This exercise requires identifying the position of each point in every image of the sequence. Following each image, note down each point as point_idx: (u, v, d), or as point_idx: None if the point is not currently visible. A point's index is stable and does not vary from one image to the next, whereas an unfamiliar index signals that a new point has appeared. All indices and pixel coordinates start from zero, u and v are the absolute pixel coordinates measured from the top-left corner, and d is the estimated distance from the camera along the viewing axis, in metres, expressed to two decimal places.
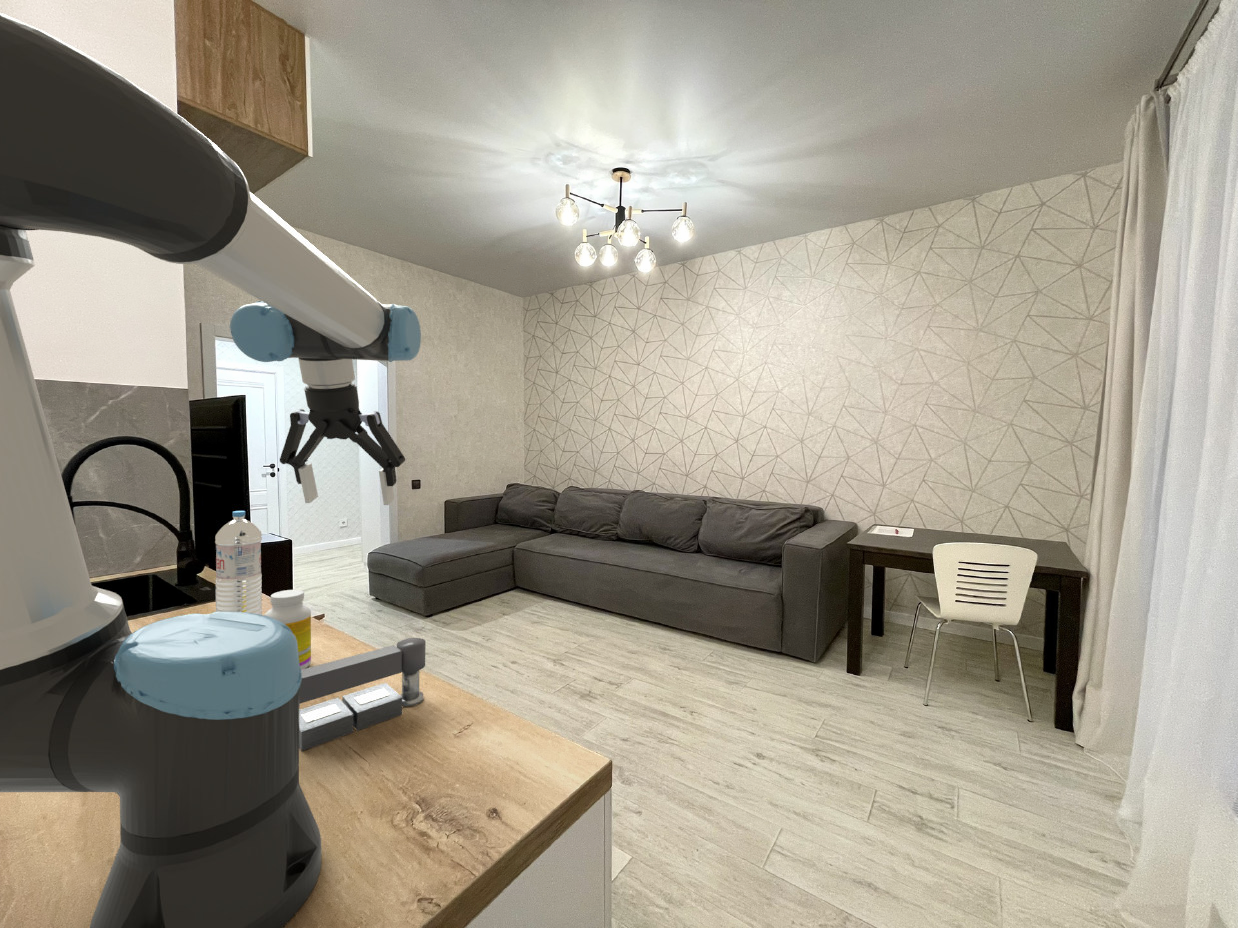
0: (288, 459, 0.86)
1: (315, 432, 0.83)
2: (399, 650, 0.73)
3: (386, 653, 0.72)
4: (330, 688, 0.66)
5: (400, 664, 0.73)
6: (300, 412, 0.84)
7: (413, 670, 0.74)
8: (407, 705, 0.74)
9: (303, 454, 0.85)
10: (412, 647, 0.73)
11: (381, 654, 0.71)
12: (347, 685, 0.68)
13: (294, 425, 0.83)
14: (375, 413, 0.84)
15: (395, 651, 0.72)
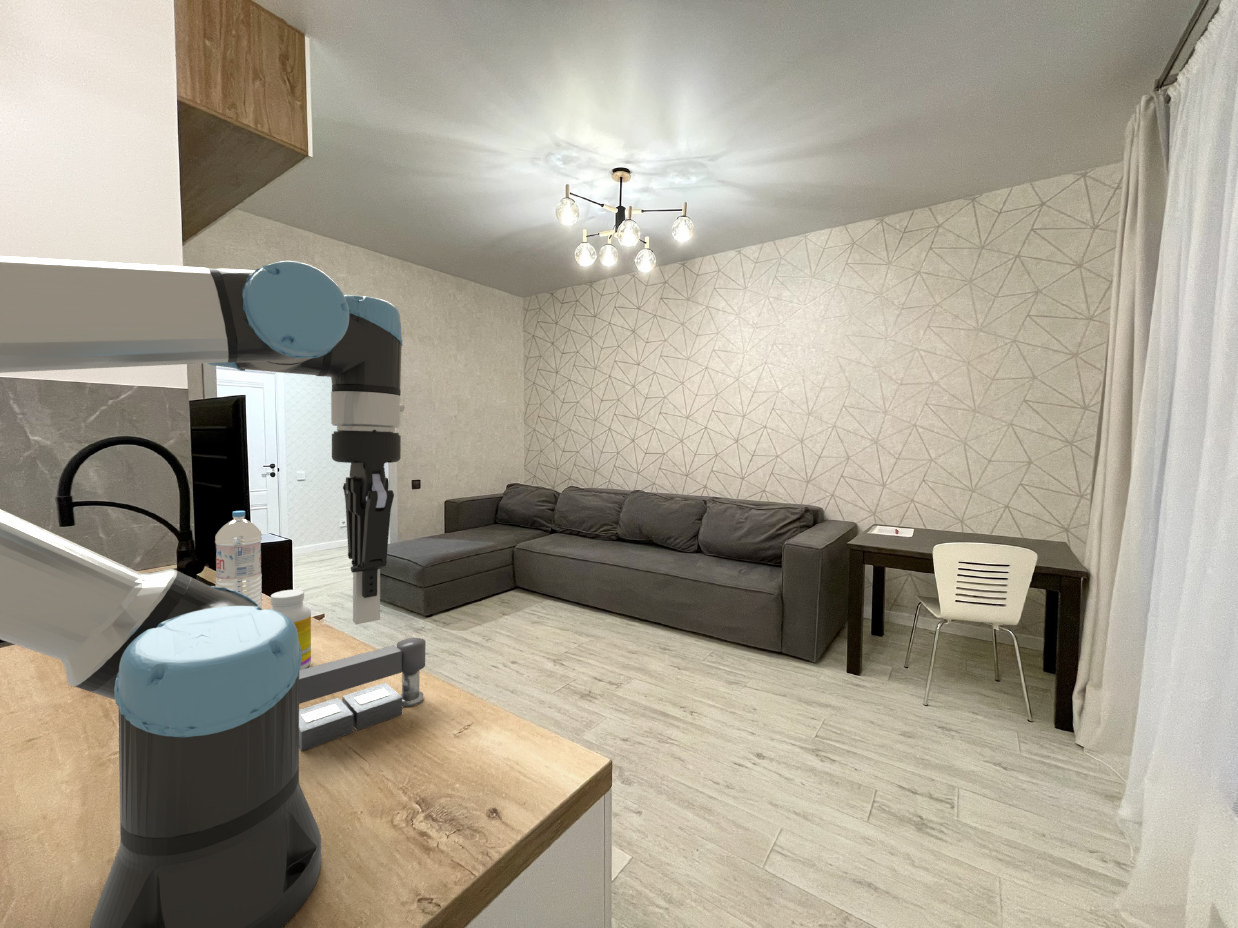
0: None
1: (348, 499, 0.62)
2: (399, 650, 0.73)
3: (386, 653, 0.72)
4: (330, 688, 0.66)
5: (400, 664, 0.73)
6: None
7: (413, 670, 0.74)
8: (407, 705, 0.74)
9: (353, 541, 0.62)
10: (412, 647, 0.73)
11: (381, 654, 0.71)
12: (347, 685, 0.68)
13: (346, 498, 0.64)
14: (384, 494, 0.57)
15: (395, 651, 0.72)
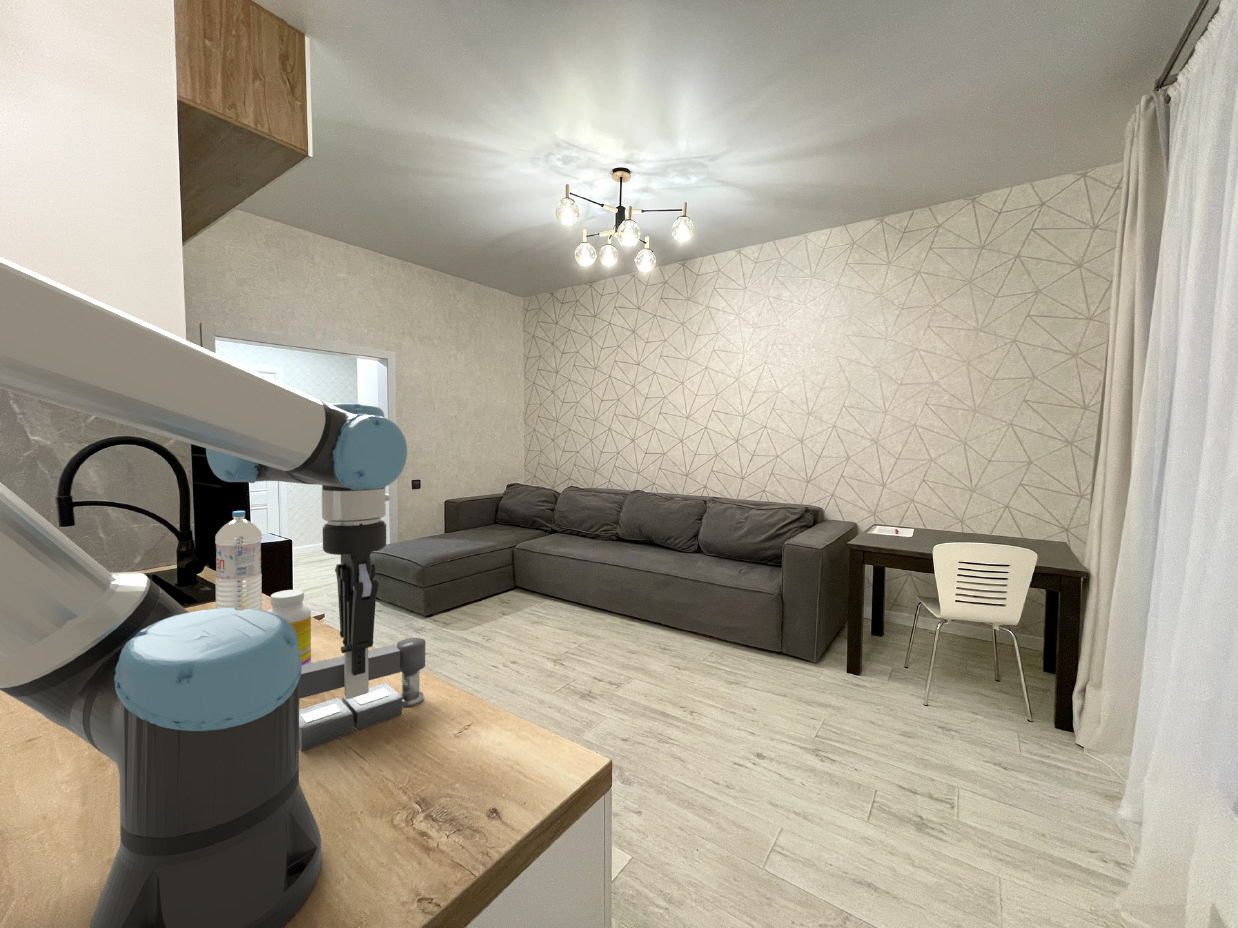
0: None
1: (339, 584, 0.67)
2: (398, 650, 0.73)
3: (385, 652, 0.72)
4: (327, 685, 0.67)
5: (399, 664, 0.73)
6: None
7: (412, 670, 0.74)
8: (407, 705, 0.74)
9: (344, 622, 0.67)
10: (411, 648, 0.73)
11: (379, 653, 0.72)
12: None
13: (338, 580, 0.70)
14: (369, 585, 0.62)
15: (393, 651, 0.73)
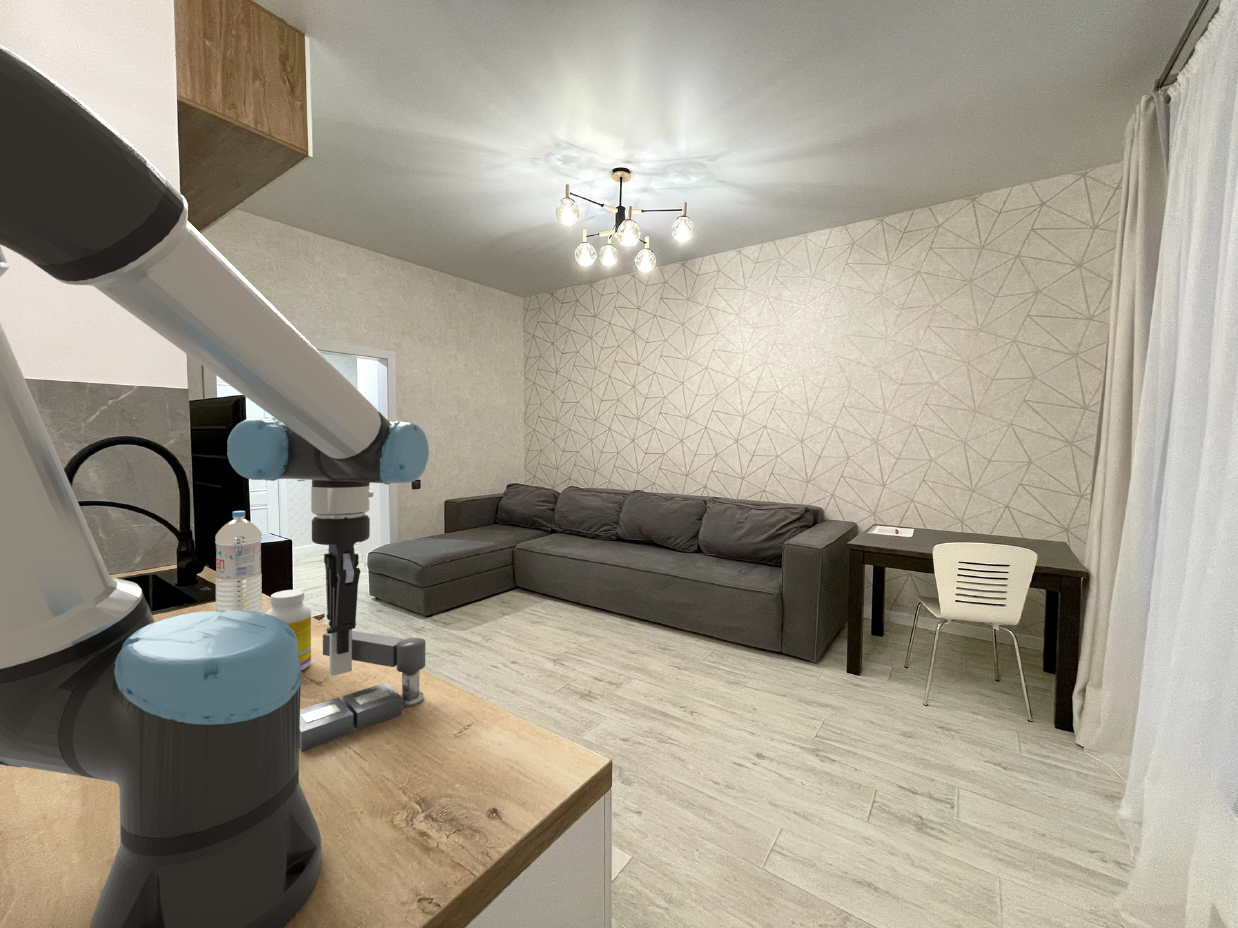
0: (330, 612, 0.76)
1: (326, 572, 0.75)
2: (394, 645, 0.75)
3: (385, 642, 0.75)
4: None
5: (392, 658, 0.74)
6: None
7: (399, 670, 0.74)
8: (407, 705, 0.74)
9: (330, 606, 0.75)
10: (399, 647, 0.73)
11: (382, 642, 0.76)
12: (353, 657, 0.76)
13: (326, 568, 0.78)
14: (351, 572, 0.70)
15: (390, 644, 0.75)
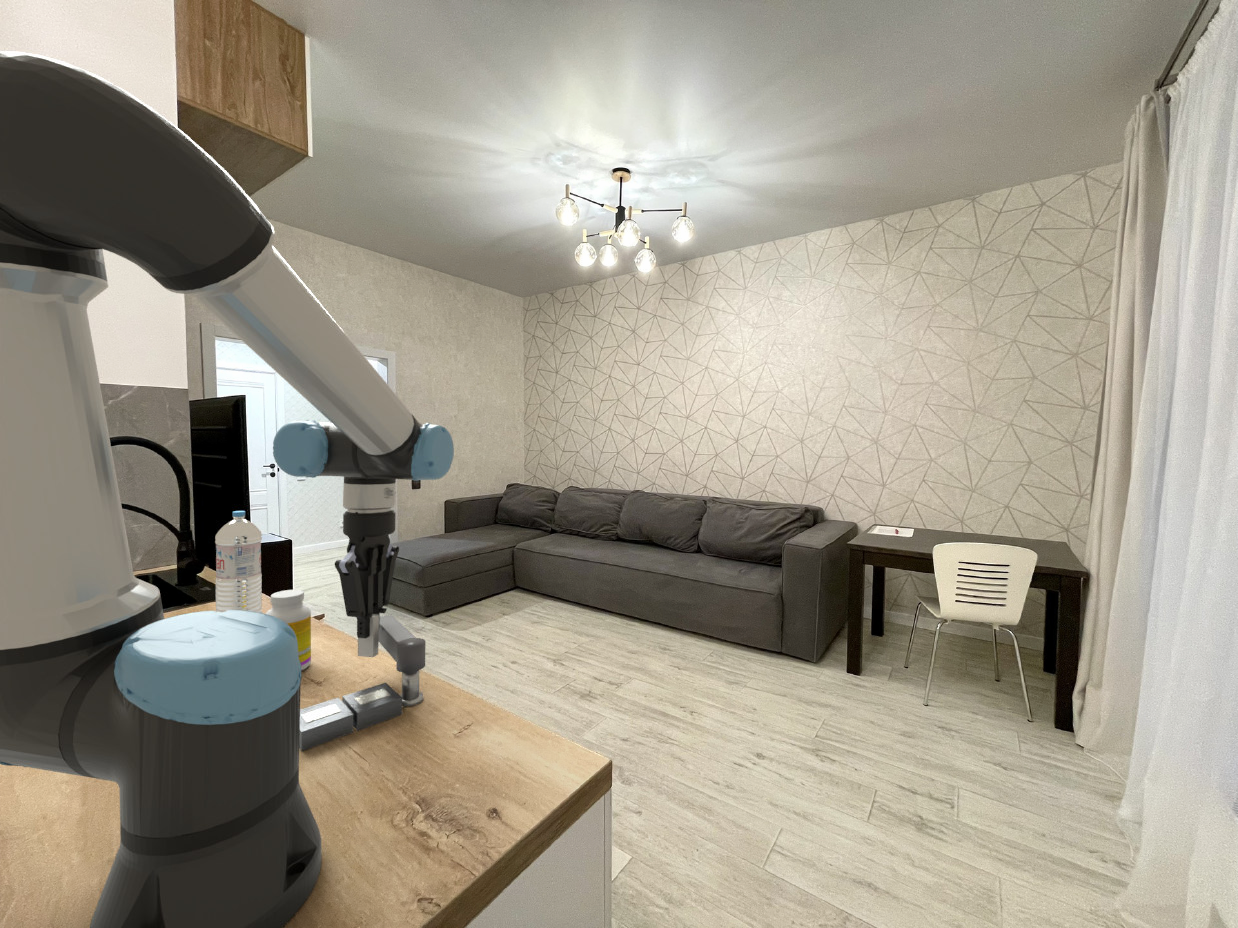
0: None
1: None
2: (399, 641, 0.76)
3: (397, 637, 0.78)
4: (380, 638, 0.83)
5: (396, 654, 0.76)
6: (389, 545, 0.86)
7: (396, 667, 0.74)
8: (407, 705, 0.74)
9: None
10: (396, 644, 0.74)
11: (397, 635, 0.78)
12: (383, 644, 0.81)
13: None
14: (343, 564, 0.74)
15: (398, 639, 0.77)
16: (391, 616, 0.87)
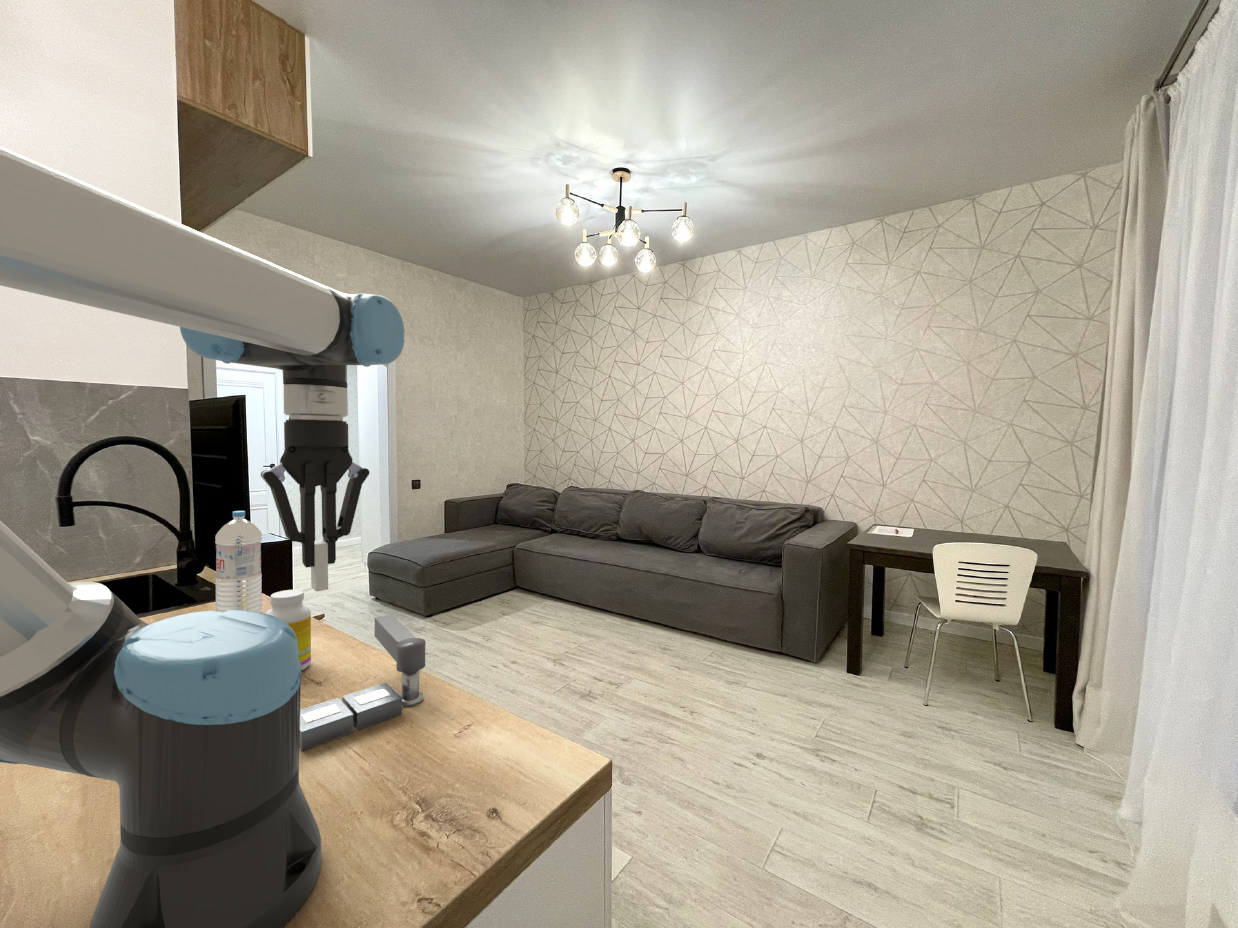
0: (337, 524, 0.72)
1: None
2: (399, 641, 0.76)
3: (397, 637, 0.78)
4: (380, 638, 0.83)
5: (397, 654, 0.76)
6: (360, 467, 0.73)
7: (396, 667, 0.74)
8: (407, 705, 0.74)
9: None
10: (396, 644, 0.74)
11: (397, 635, 0.78)
12: (383, 644, 0.81)
13: None
14: (262, 474, 0.65)
15: (398, 639, 0.77)
16: (391, 616, 0.87)
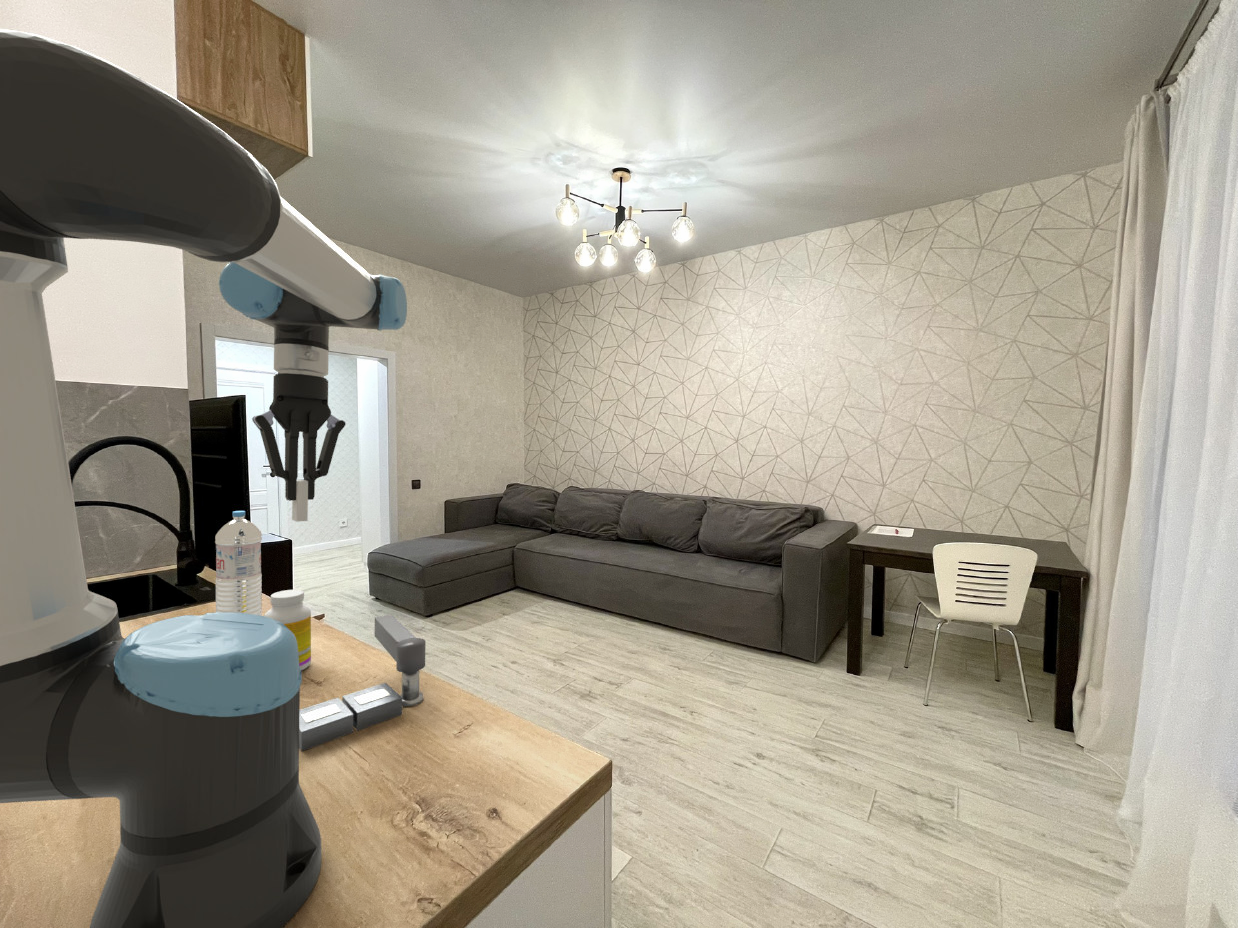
0: (316, 468, 0.84)
1: None
2: (399, 641, 0.76)
3: (397, 637, 0.78)
4: (380, 638, 0.83)
5: (397, 654, 0.76)
6: None
7: (396, 667, 0.74)
8: (407, 705, 0.74)
9: None
10: (396, 644, 0.74)
11: (397, 635, 0.78)
12: (383, 644, 0.81)
13: None
14: (254, 417, 0.77)
15: (398, 639, 0.77)
16: (391, 616, 0.87)
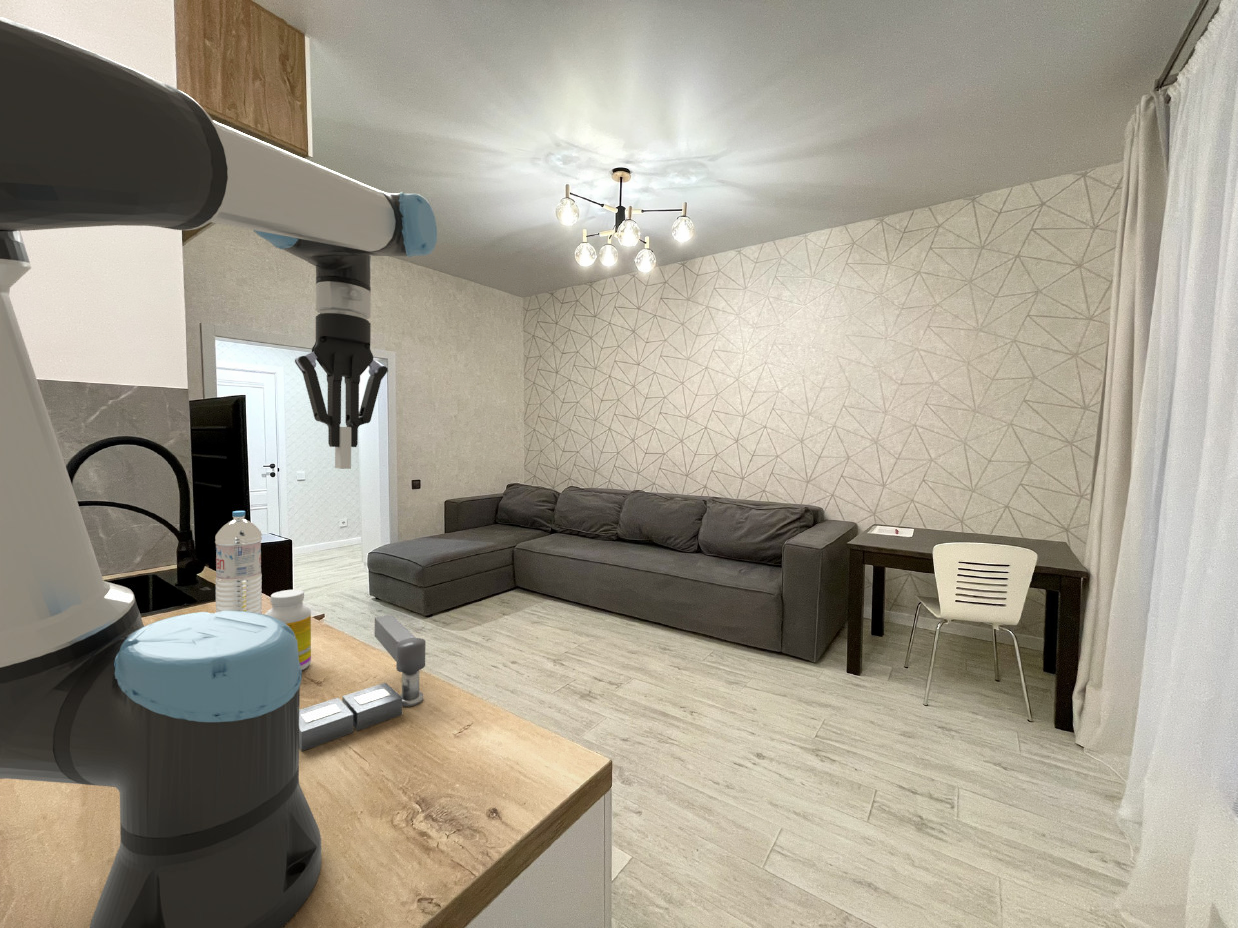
0: (358, 415, 0.81)
1: None
2: (399, 641, 0.76)
3: (397, 637, 0.78)
4: (380, 638, 0.83)
5: (397, 654, 0.76)
6: None
7: (396, 667, 0.74)
8: (407, 705, 0.74)
9: None
10: (396, 644, 0.74)
11: (397, 635, 0.78)
12: (383, 644, 0.81)
13: None
14: (297, 358, 0.74)
15: (398, 639, 0.77)
16: (391, 616, 0.87)
